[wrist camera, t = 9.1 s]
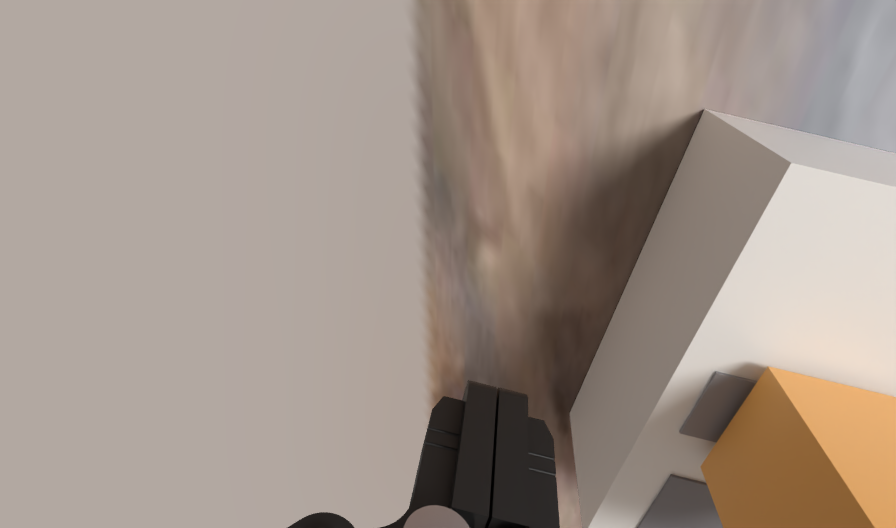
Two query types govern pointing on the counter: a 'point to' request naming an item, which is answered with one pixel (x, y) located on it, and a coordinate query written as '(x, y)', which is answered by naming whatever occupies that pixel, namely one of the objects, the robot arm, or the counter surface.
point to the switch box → (735, 311)
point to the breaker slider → (806, 457)
